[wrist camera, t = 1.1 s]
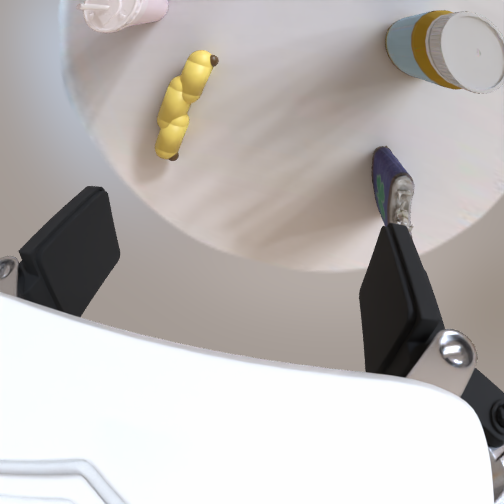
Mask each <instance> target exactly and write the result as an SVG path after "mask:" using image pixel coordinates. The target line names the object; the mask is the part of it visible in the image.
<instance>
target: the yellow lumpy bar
mask: <svg viewBox="0 0 504 504" xmlns="http://www.w3.org/2000/svg"><path fill="white" fill-rule="evenodd" d="M217 64H218V58H217V56H215V55H211V54H210V53H209V52H207V51H204V50H198V51H195V52H193V53H192V54H191V55H190V56H189V57H188V59H187V61H186V64H185V66H184V69H183V71H182V73H181V75H180V76H177V77H175V78H174V79H172V80H171V82H170V84H169V86H168V88H167V91H166V94H165V96H164V99H163V102H162V105H161V107H160V110H159V113H158V116H157V123H158V125H159V127H160V128H161V129H160V132H159V134H158V137H157V140H156V143H155V152H156V154H157V155H158V156H159V157H160V158H163V159H169V160H170V161H175V160H177V159H178V156H179V154H178V150H179V148H180V145H181V143H182V140H183V137H184V135H185V132H186V130H187V127H188V124H189V117H188V115H187V112H188V109H189V107H190V105H191V103H193V102H195V101H197V100H198V99H199V98H200V96H201V94H202V91H203V89H204V87H205V84H206V82H207V80H208V78H209V76H210V73H211V71H212V69H213V67H214V66H216V65H217Z"/></svg>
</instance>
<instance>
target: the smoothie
mask: <svg viewBox="0 0 504 504" xmlns="http://www.w3.org/2000/svg"><path fill="white" fill-rule="evenodd" d="M77 10H83V14H84V19H85V21H86V23H87V25H88V26H89V27H90V28H91V29H93V30H94V31H97V32H101V33H113V32H117V31H120V30H122V29H124V28H125V27H128V26H133V25H138V24H144V23H150V22H155V21H158V20H160V19H162V18H163V17H164V16H165V15H166V13H167V11H168V1H167V0H85V2H84V4H78V5H77Z"/></svg>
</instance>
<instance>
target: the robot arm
mask: <svg viewBox="0 0 504 504" xmlns="http://www.w3.org/2000/svg"><path fill="white" fill-rule="evenodd" d="M19 253H20V256H21V258H22V261H21V262H20V263H19V262H18V260H17V258H16V257H13V256H6V257H2V258H0V504H504V393H503V392H502V391H501V390H500V389H499V388H498V387H497V386H496V385H494V384H493V383H492V382H491V381H490V380H489V379H488V378H487V377H485V376H484V375H483V374H482V373H481V372H480V371H479V370H477V369H476V368H475V366H476V363H477V359H478V357H477V352H476V349H475V346H474V344H473V343H472V341H471V340H470V339H469V338H468V337H467V336H466V335H464V334H463V333H461V332H460V331H457V330H454V329H445V327H444V324H443V321H442V317H441V314H440V311H439V308H438V305H437V302H436V299H435V296H434V293H433V290H432V287H431V284H430V282H429V279H428V276H427V273H426V271H425V270H424V268H423V266H422V263H421V261H420V258H419V255H418V253H417V250H416V248H415V245H414V243H413V240H412V238H411V235H410V233H409V231H408V228H407V226H405V225H400V224H395V223H389V224H388V225H387V227H386V226H383V227H382V228H381V231H380V234H379V237H378V240H377V243H376V246H375V249H374V252H373V255H372V258H371V260H370V263H369V266H368V269H367V272H366V274H365V277H364V280H363V283H362V286H361V288H360V293H359V300H360V309H361V319H362V330H363V341H364V355H365V369H366V372H358V371H349V370H340V369H331V368H323V367H315V366H308V365H300V364H293V363H286V362H279V361H272V360H265V359H259V358H253V357H247V356H241V355H236V354H230V353H225V352H220V351H215V350H209V349H204V348H200V347H195V346H189V345H185V344H181V343H176V342H171V341H167V340H163V339H159V338H155V337H150V336H146V335H142V334H138V333H134V332H130V331H126V330H123V329H119V328H115V327H112V326H108V325H105V324H101V323H97V322H94V321H90V320H87V319H84V318H80V317H81V315H82V314H83V312H84V311H85V309H86V307H87V306H88V304H89V303H90V301H91V299H92V298H93V297H94V295H95V294H96V292H97V291H98V289H99V288H100V286H101V285H102V283H103V282H104V280H105V279H106V278H107V276H108V275H109V273H110V272H111V270H112V269H113V268H114V266H115V265H116V263H117V262H118V260H119V258H120V249H119V245H118V240H117V236H116V232H115V227H114V222H113V218H112V212H111V207H110V202H109V197H108V193H107V192H106V191H105V190H104V189H103V188H102V187H95V186H88V187H86V188H85V189H84V190H82V191H81V192H80V193H79V194H78V195H77V196H76V197H74V198H73V199H72V200H71V201H70V202H69V203H68V204H67V205H65V206H64V207H63V208H62V209H61V210H60V211H59V212H58V213H57V214H55V215H54V216H53V217H52V218H51V219H50V220H49V221H48V222H47V223H46V224H45V225H44V226H43V227H42V228H41V229H40V230H39V231H38V232H37V233H36V234H35V235H34V236H33V237H32V238H31V239H30V240H29V241H28V242H27V243H26V244H25V245H24V246H23V247H22V248H21V249H20V250H19Z"/></svg>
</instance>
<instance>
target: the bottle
mask: <svg viewBox="0 0 504 504" xmlns="http://www.w3.org/2000/svg"><path fill="white" fill-rule="evenodd" d="M386 50H387V53H388V56H389V58H390V59H391V61H392V62H393V64H394V65H395V66H396V67H397V68H398V69H400V70H401V71H402V72H404V73H406V74H408V75H410V76H413V77H416V78H419V79H423V80H426V81H429V82H431V83H434V84H437V85H440V86H443V87H447V88H451V89H465V90H468V91H471V92H474V93H478V94H480V93H482V94H484V93H491V92H494V91H496V90H497V89H499V88H500V87H501V86H502V85H503V84H504V37H503V35H502V34H501V32H500V31H499V30H498V28H497V27H496V26H495V25H494V24H493V23H492V22H491V21H490V20H488V19H487V18H485V17H483V16H481V15H479V14H476V13H473V12H468V11H465V12H464V11H462V12H455V13H453V12H450V11H445V10H444V11H431V12H427V13H423V14H419V15H415V16H411V17H407V18H403V19H401V20H399V21H397V22H395V23H394V24H393V25H392V26H391V27H390V28H389V30H388V32H387V35H386Z"/></svg>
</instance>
